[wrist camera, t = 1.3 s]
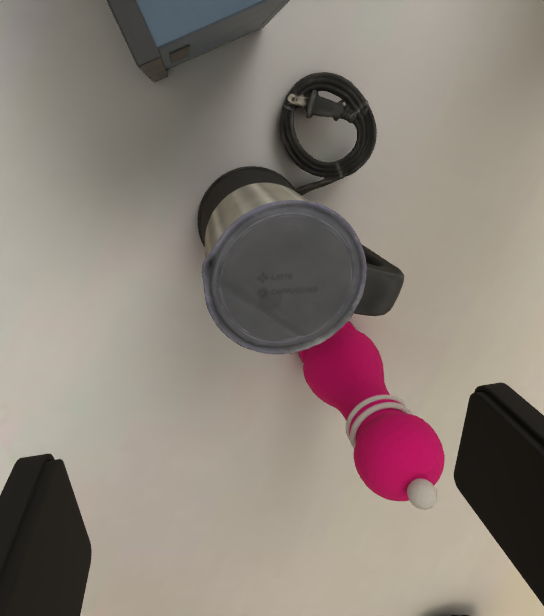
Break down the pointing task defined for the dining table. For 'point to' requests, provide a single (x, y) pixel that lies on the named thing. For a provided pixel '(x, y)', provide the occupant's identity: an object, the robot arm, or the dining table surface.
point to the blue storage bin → (185, 27)
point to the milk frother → (292, 240)
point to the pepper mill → (375, 419)
